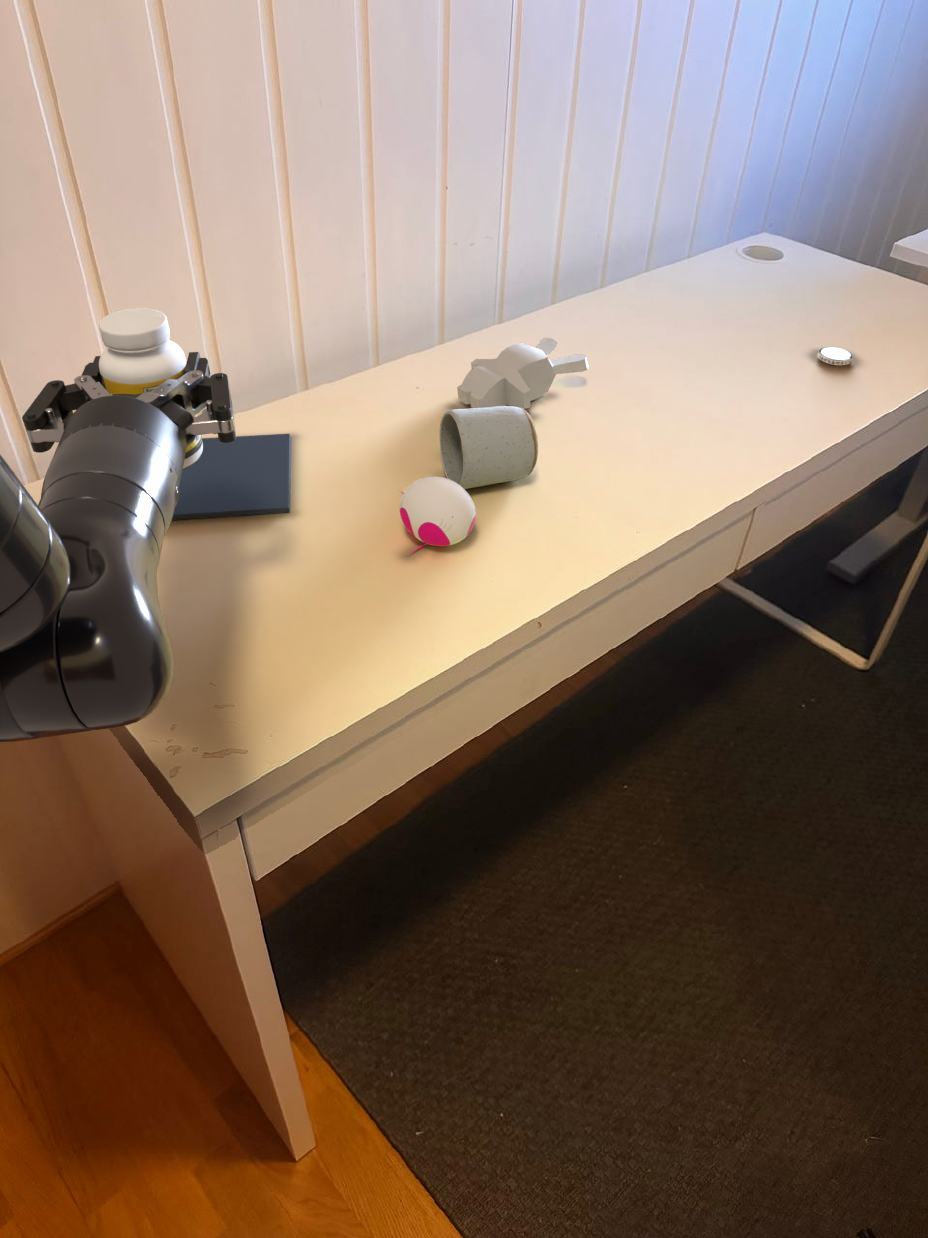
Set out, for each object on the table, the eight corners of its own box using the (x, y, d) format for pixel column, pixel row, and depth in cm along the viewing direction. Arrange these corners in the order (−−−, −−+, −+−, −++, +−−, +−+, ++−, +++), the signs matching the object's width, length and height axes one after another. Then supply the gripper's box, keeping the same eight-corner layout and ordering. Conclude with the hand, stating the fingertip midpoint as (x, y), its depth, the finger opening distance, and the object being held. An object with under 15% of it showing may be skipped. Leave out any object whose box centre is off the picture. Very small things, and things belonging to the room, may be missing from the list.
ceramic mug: (540, 490, 88) (545, 419, 83) (462, 505, 86) (463, 433, 81) (499, 440, 96) (502, 372, 91) (427, 452, 93) (426, 384, 88)
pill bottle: (110, 452, 71) (72, 316, 64) (182, 428, 74) (154, 296, 67) (144, 485, 67) (108, 345, 60) (218, 459, 70) (192, 323, 63)
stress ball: (397, 558, 85) (362, 527, 79) (443, 489, 86) (412, 453, 80) (455, 590, 81) (423, 560, 75) (503, 518, 82) (475, 482, 76)
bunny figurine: (440, 364, 100) (541, 317, 106) (444, 404, 103) (542, 356, 109) (494, 396, 94) (597, 345, 100) (496, 437, 98) (596, 385, 104)
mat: (137, 522, 83) (135, 517, 83) (155, 445, 93) (154, 440, 93) (289, 512, 85) (288, 507, 84) (290, 438, 95) (289, 433, 95)
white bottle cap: (855, 365, 110) (857, 360, 110) (822, 364, 110) (824, 359, 110) (845, 351, 113) (847, 346, 113) (813, 350, 113) (815, 345, 113)
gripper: (222, 421, 54) (239, 313, 67) (-27, 434, 53) (38, 321, 65) (241, 524, 59) (253, 405, 72) (13, 538, 57) (66, 414, 70)
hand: (150, 365), depth 68 cm, fingers closed on pill bottle, 6 cm apart
